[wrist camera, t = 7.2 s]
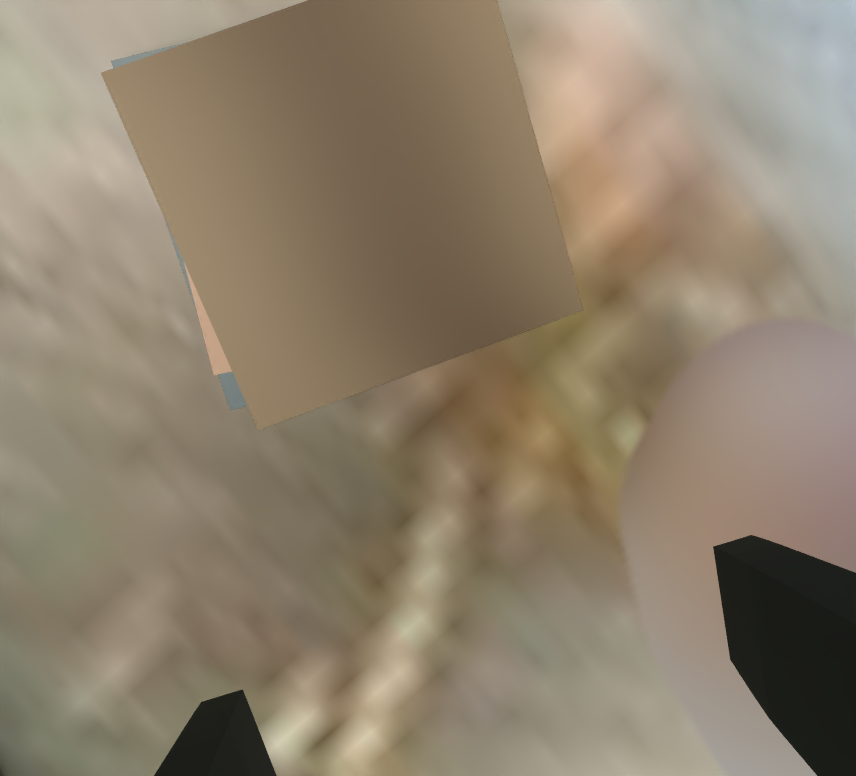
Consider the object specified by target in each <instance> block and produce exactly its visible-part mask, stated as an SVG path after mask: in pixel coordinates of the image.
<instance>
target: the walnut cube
mask: <svg viewBox="0 0 856 776" xmlns="http://www.w3.org/2000/svg"><path fill="white" fill-rule="evenodd" d="M101 74H102V77H103V79H104V81H105V83H106V86H107V88H108V90H109V92H110V95H111V97H112V99H113V102H114V104H115V106H116V108H117V111H118V113H119V115H120V117H121V120H122V122H123V124H124V127H125V129H126V131H127V133H128V136H129V138H130V140H131V142H132V145H133V147H134V149H135V152H136V154H137V156H138V158H139V161H140V163H141V165H142V167H143V170H144V172H145V174H146V177H147V179H148V181H149V183H150V186H151V188H152V190H153V192H154V195H155V197H156V199H157V202H158V204H159V206H160V208H161V211H162V213H163V215H164V217H165V220H166V222H167V224H168V226H169V229H170V231H171V233H172V236H173V238H174V240H175V242H176V245H177V247H178V249H179V251H180V254H181V256H182V258H183V261H184V263H185V265H186V267H187V270H188V272H189V274H190V276H191V279H192V281H193V283H194V286H195V288H196V290H197V292H198V295H199V297H200V299H201V301H202V304H203V306H204V308H205V311H206V313H207V315H208V317H209V320H210V322H211V324H212V326H213V329H214V331H215V333H216V336H217V338H218V340H219V342H220V345H221V347H222V349H223V351H224V354H225V356H226V358H227V361H228V363H229V365H230V367H231V370H232V372H233V374H234V376H235V379H236V381H237V383H238V385H239V388H240V390H241V392H242V395H243V397H244V399H245V401H246V404H247V406H248V408H249V410H250V413H251V415H252V417H253V420H254V422H255V424H256V426H257V429H258V430H260V429H263V428H265V427H268V426H271V425H273V424H276V423H279V422H282V421H284V420H287V419H290V418H292V417H295V416H298V415H301V414H303V413H306V412H309V411H311V410H314V409H317V408H320V407H322V406H325V405H328V404H330V403H333V402H336V401H339V400H341V399H344V398H347V397H349V396H352V395H355V394H357V393H360V392H363V391H366V390H368V389H371V388H374V387H376V386H379V385H382V384H385V383H387V382H390V381H393V380H395V379H398V378H401V377H404V376H406V375H409V374H412V373H414V372H417V371H420V370H423V369H425V368H428V367H431V366H433V365H436V364H439V363H441V362H444V361H447V360H450V359H452V358H455V357H458V356H460V355H463V354H466V353H469V352H471V351H474V350H477V349H479V348H482V347H485V346H488V345H490V344H493V343H496V342H498V341H501V340H504V339H507V338H509V337H512V336H515V335H517V334H520V333H523V332H525V331H528V330H531V329H534V328H536V327H539V326H542V325H544V324H547V323H550V322H553V321H555V320H558V319H561V318H563V317H566V316H569V315H572V314H574V313H577V312H580V311H582V310H583V306H582V303H581V299H580V296H579V292H578V289H577V285H576V281H575V278H574V274H573V271H572V267H571V264H570V260H569V256H568V253H567V249H566V246H565V242H564V239H563V235H562V231H561V228H560V224H559V221H558V217H557V214H556V210H555V206H554V203H553V199H552V196H551V192H550V189H549V185H548V181H547V178H546V174H545V171H544V167H543V164H542V160H541V156H540V153H539V149H538V146H537V142H536V139H535V135H534V131H533V128H532V124H531V121H530V117H529V114H528V110H527V106H526V103H525V99H524V96H523V92H522V89H521V85H520V81H519V78H518V74H517V71H516V67H515V64H514V60H513V56H512V53H511V49H510V46H509V42H508V38H507V35H506V31H505V28H504V24H503V21H502V17H501V13H500V10H499V6H498V3H497V0H308V1H305V2H302V3H300V4H297V5H294V6H291V7H288V8H285V9H282V10H280V11H277V12H274V13H271V14H268V15H265V16H262V17H260V18H257V19H254V20H251V21H248V22H245V23H242V24H240V25H237V26H234V27H231V28H228V29H225V30H222V31H219V32H217V33H214V34H211V35H208V36H205V37H202V38H199V39H197V40H194V41H191V42H188V43H185V44H182V45H179V46H177V47H174V48H171V49H168V50H165V51H162V52H159V53H157V54H154V55H151V56H148V57H145V58H142V59H139V60H137V61H134V62H131V63H128V64H125V65H122V66H119V67H117V68H114V69H111V70H108V71H105V72H102V73H101Z"/></svg>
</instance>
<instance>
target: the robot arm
mask: <svg viewBox="0 0 856 776" xmlns="http://www.w3.org/2000/svg"><path fill="white" fill-rule="evenodd" d="M713 548H714V554H715V561H716V568H717V575H718V581H719V588H720V594H721V601H722V608H723V614H724V620H725V627H726V634H727V641H728V647H729V653H730V660H731V661H732V663H733V664H734V666H735V667H736V669H737V670H738V672H739V674H740V675H741V677H742V678H743V680H744V681H745V683H746V685H747V686H748V688H749V689H750V691H751V692H752V694H753V695H754V697H755V698H756V700H757V701H758V703H759V704H760V706H761V707H762V709H763V710H764V711H765V713H766V714H767V716H768V717H769V719H770V720H771V721H772V722H773V724H774V725H775V726H776V727H777V728H778V730H779V731H780V732H781V733H782V734H783V736H784V737H785V738H786V739H787V740H788V742H789V743H790V744H791V745H792V746H793V747H794V749H795V750H796V751H797V752H798V753H799V755H800V756H801V757H802V758H803V759H804V760H805V762H806V763H807V764H808V765H809V766H810V768H811V769H812V770H813V771H814V772H815V773H816V775H817V776H856V573H855V572H852V571H849V570H846V569H844V568H841V567H839V566H836V565H833V564H831V563H828V562H825V561H823V560H820V559H817V558H815V557H812V556H809V555H807V554H804V553H801V552H799V551H796V550H793V549H791V548H788V547H785V546H783V545H780V544H777V543H774V542H771V541H769V540H766V539H762V538H759V537H756V536H752V535H750V536H747V537H744V538H740V539H737V540H734V541H731V542H727V543H724V544H721V545H717V546H714V547H713ZM154 776H276V774H275V771H274V768H273V766H272V763H271V761H270V758H269V756H268V753H267V750H266V748H265V745H264V743H263V740H262V738H261V735H260V732H259V730H258V727H257V725H256V722H255V720H254V717H253V714H252V712H251V709H250V707H249V704H248V702H247V699H246V696H245V694H244V691H243V690H239V691H236V692H233V693H230V694H226V695H223V696H220V697H216V698H213V699H210V700H206V701H203V702H201V703H200V705H199V706H198V708H197V709H196V711H195V712H194V714H193V715H192V717H191V718H190V720H189V721H188V723H187V725H186V726H185V728H184V729H183V731H182V732H181V734H180V736H179V737H178V739H177V740H176V742H175V744H174V745H173V747H172V748H171V750H170V751H169V753H168V755H167V756H166V758H165V759H164V761H163V762H162V764H161V766H160V767H159V769H158V770H157V772H156V773H155V775H154Z"/></svg>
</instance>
